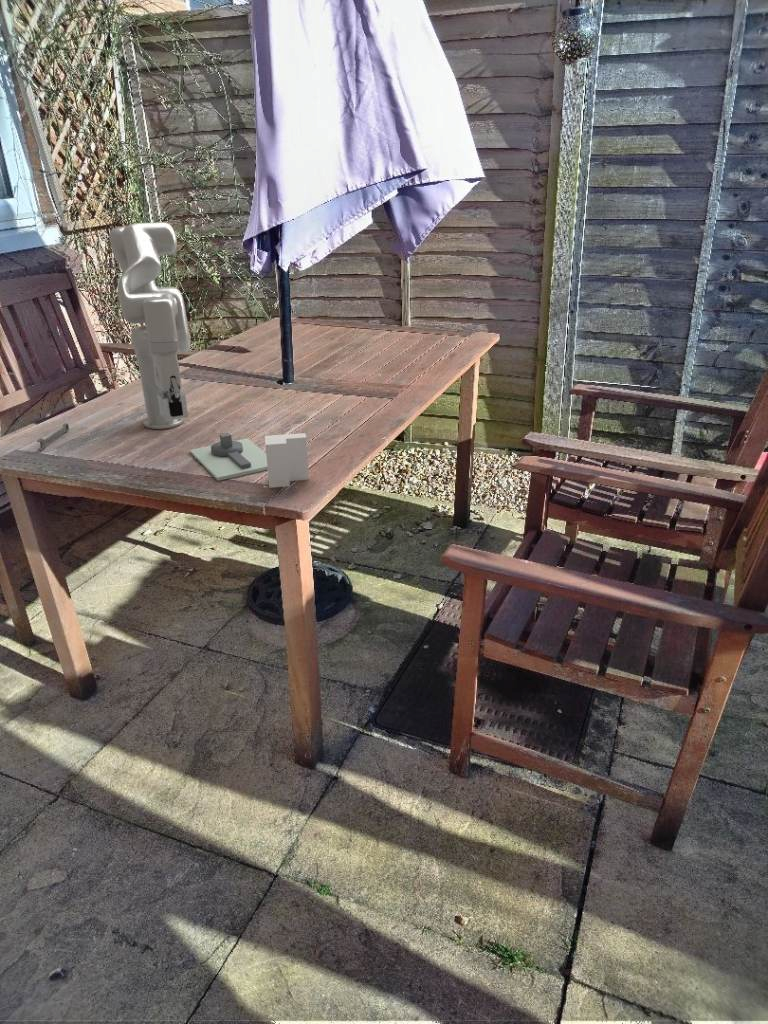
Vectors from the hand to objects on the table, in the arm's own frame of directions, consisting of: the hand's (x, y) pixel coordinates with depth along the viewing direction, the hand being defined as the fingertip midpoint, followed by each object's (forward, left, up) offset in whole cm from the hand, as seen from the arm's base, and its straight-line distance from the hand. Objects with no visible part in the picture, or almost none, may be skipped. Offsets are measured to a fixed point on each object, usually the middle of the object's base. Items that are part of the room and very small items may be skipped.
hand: (173, 411), depth 193 cm
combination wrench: (-40, -28, -16) cm, 51 cm away
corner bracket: (+25, +22, -16) cm, 37 cm away
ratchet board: (+5, +14, -15) cm, 21 cm away
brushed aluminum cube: (0, 0, -1) cm, 1 cm away
